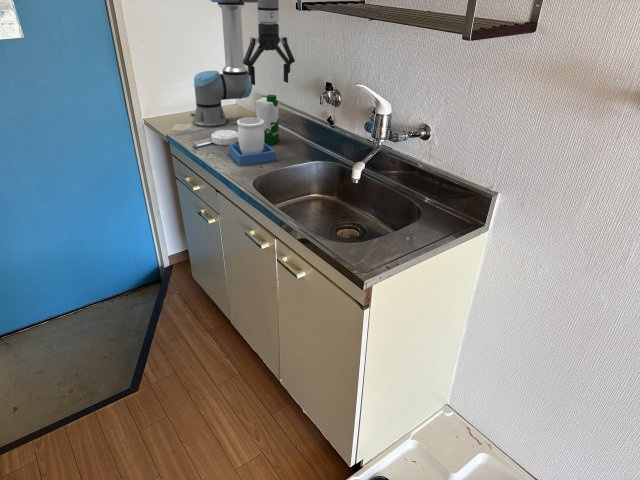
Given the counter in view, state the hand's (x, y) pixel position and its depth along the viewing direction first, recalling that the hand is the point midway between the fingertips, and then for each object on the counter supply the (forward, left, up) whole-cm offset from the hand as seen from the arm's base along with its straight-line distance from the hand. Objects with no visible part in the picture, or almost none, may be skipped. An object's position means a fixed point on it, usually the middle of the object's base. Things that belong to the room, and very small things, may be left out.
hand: (269, 83), depth 182 cm
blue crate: (+4, -10, -28) cm, 30 cm away
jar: (+4, -10, -28) cm, 30 cm away
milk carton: (-13, +4, -28) cm, 31 cm away
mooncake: (-20, -13, -28) cm, 37 cm away
